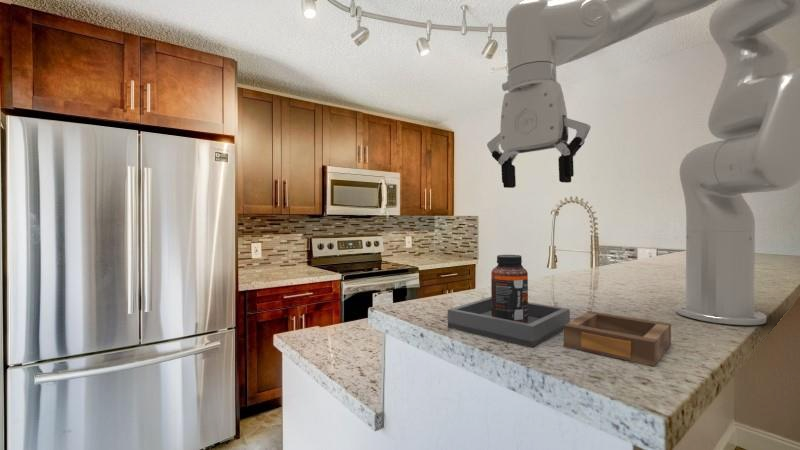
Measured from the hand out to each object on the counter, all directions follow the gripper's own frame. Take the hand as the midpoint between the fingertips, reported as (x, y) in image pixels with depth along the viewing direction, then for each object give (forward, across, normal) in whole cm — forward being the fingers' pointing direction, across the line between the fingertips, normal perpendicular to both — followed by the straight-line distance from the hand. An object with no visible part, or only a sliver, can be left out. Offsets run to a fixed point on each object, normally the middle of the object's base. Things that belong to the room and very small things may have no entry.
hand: (536, 185), depth 64 cm
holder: (+24, +12, -2) cm, 27 cm away
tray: (+24, -4, -4) cm, 24 cm away
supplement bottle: (+23, -4, -4) cm, 24 cm away
